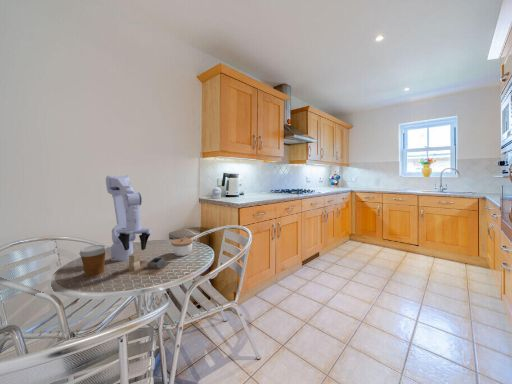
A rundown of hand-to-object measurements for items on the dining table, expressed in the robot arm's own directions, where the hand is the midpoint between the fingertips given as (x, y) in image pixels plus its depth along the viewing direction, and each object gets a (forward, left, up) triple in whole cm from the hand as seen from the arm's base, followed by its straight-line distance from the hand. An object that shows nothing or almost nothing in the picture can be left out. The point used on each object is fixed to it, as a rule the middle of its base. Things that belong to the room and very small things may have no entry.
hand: (135, 249), depth 97 cm
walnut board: (+3, +2, -10) cm, 11 cm away
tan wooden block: (-1, 0, -9) cm, 9 cm away
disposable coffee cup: (-16, -5, -10) cm, 19 cm away
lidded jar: (+13, +20, -10) cm, 26 cm away
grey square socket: (+7, +4, -10) cm, 13 cm away
